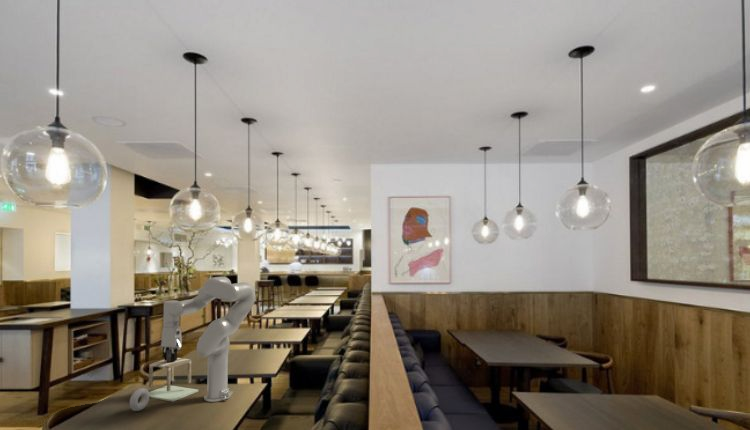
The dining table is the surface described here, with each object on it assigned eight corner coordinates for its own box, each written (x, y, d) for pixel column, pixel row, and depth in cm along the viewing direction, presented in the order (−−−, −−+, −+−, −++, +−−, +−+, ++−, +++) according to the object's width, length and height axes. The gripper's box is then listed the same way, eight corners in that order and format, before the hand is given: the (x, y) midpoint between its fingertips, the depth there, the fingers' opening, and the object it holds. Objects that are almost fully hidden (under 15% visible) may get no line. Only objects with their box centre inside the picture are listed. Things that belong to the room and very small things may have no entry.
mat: (198, 391, 222) (198, 389, 222) (172, 401, 208) (172, 399, 208) (168, 386, 231) (168, 385, 231) (141, 396, 217) (141, 394, 217)
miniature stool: (191, 382, 223) (191, 347, 225) (168, 391, 210) (169, 354, 212) (172, 379, 229) (172, 345, 230) (148, 387, 216) (149, 351, 218)
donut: (133, 415, 192) (133, 392, 192) (127, 414, 193) (127, 391, 193) (151, 407, 201) (151, 385, 202) (145, 406, 202) (145, 384, 203)
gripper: (188, 324, 222) (188, 360, 221) (166, 322, 229) (165, 357, 227) (176, 326, 215) (176, 363, 214) (153, 324, 222) (153, 360, 221)
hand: (170, 360), depth 221 cm, fingers closed on miniature stool, 4 cm apart
